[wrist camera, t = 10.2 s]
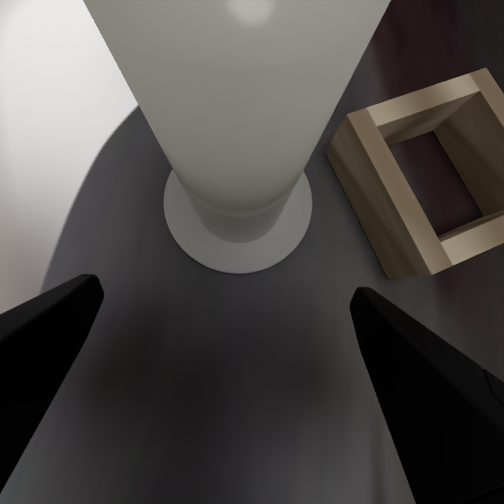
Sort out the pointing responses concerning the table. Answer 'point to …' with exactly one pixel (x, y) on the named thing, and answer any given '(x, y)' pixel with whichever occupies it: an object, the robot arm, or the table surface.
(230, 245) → the mat
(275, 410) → the table surface
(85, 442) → the table surface
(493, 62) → the table surface
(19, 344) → the robot arm
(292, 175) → the jug
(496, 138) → the stand
